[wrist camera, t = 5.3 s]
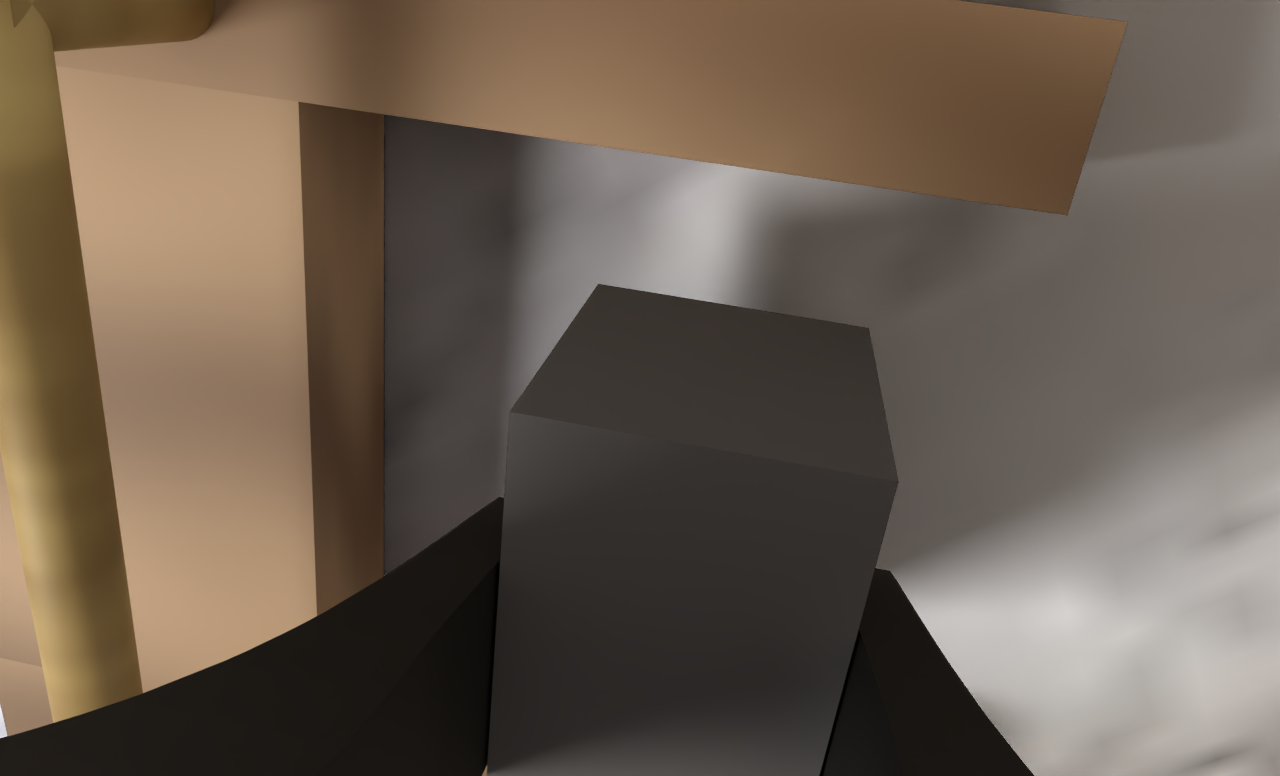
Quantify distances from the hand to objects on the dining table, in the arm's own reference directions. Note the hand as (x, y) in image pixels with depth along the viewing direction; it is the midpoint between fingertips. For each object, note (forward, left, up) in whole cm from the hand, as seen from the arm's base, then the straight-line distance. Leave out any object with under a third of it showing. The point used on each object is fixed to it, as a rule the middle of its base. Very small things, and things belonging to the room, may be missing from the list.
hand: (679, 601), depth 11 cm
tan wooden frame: (-1, +4, -4) cm, 6 cm away
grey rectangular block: (0, 0, -2) cm, 2 cm away
